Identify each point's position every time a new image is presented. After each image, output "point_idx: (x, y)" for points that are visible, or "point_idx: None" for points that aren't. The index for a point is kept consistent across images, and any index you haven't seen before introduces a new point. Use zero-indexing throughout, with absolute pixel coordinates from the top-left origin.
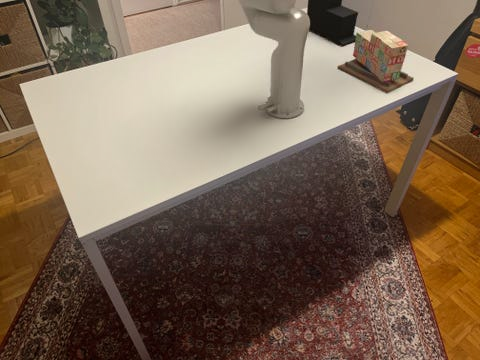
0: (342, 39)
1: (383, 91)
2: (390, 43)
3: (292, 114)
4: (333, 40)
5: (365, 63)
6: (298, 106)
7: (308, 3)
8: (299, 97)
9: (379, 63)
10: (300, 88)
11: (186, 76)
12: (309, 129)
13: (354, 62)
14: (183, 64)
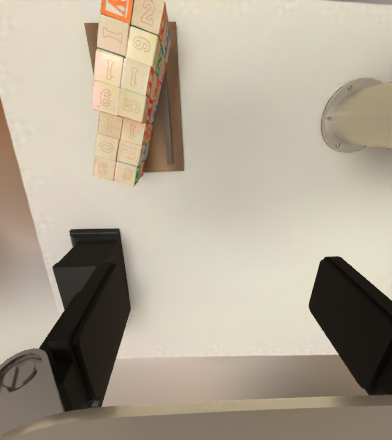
0: (108, 241)
1: (176, 36)
2: (144, 30)
3: (375, 81)
4: (121, 250)
5: (152, 124)
6: (354, 91)
7: (118, 346)
8: (367, 89)
9: (161, 65)
10: (381, 87)
11: (370, 280)
12: (382, 27)
13: (147, 162)
14: None
